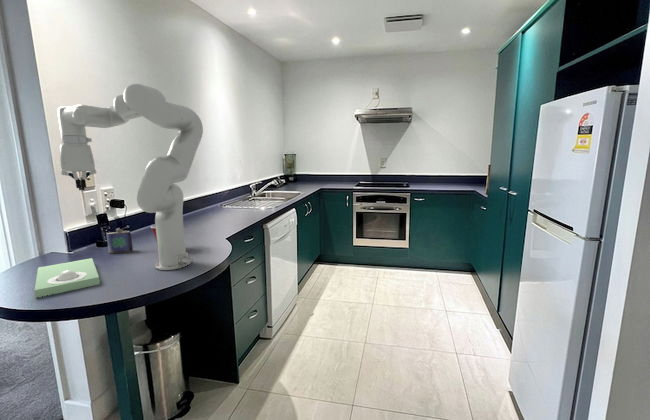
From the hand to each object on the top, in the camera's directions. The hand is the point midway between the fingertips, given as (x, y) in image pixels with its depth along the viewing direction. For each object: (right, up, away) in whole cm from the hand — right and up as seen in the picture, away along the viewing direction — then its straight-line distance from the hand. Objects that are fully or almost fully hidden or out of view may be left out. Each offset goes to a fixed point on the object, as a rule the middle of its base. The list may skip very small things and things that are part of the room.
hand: (81, 189), depth 125 cm
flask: (+3, -26, +19) cm, 33 cm away
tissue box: (+4, -32, -12) cm, 34 cm away
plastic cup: (+23, -26, +20) cm, 40 cm away
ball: (+9, -30, -18) cm, 36 cm away
